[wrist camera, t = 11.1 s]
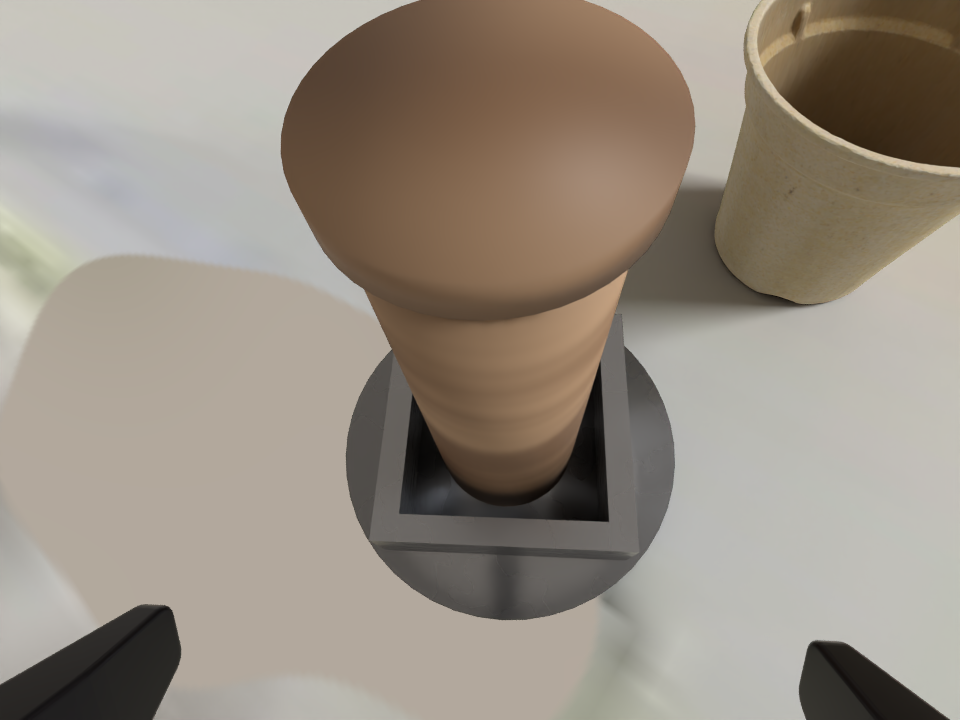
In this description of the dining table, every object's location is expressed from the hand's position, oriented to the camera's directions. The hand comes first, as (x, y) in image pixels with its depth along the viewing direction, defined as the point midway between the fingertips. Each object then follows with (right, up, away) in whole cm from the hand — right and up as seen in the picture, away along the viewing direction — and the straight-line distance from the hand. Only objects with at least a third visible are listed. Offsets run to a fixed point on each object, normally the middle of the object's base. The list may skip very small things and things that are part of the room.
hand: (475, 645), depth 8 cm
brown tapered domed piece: (+1, +1, +12) cm, 12 cm away
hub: (+1, +1, +12) cm, 12 cm away
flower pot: (+13, +9, +15) cm, 22 cm away
